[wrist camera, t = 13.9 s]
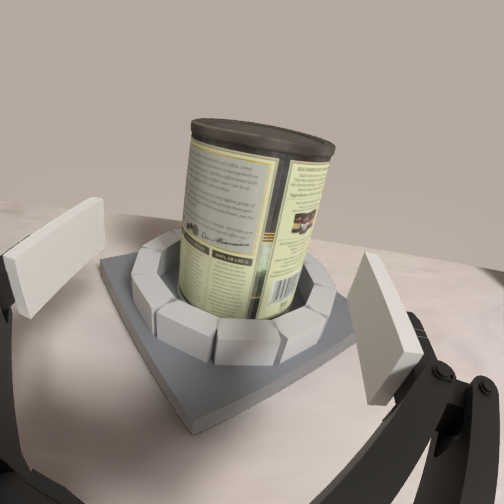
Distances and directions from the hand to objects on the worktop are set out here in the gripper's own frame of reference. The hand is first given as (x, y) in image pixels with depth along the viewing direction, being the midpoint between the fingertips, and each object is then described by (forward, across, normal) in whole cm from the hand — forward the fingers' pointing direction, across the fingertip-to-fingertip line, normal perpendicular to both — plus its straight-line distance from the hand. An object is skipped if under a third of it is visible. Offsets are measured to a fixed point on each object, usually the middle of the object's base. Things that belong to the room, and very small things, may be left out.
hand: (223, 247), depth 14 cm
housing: (+10, 0, -11) cm, 15 cm away
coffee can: (+10, 0, -9) cm, 13 cm away
